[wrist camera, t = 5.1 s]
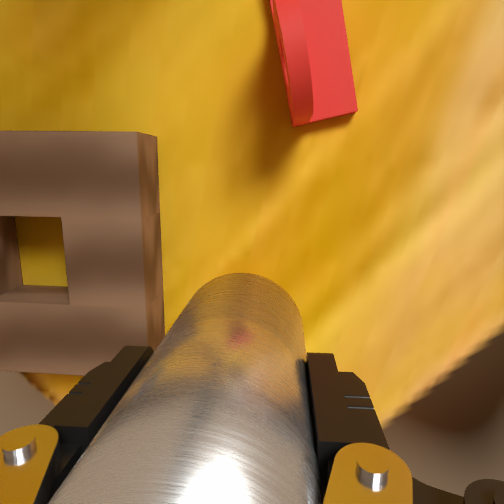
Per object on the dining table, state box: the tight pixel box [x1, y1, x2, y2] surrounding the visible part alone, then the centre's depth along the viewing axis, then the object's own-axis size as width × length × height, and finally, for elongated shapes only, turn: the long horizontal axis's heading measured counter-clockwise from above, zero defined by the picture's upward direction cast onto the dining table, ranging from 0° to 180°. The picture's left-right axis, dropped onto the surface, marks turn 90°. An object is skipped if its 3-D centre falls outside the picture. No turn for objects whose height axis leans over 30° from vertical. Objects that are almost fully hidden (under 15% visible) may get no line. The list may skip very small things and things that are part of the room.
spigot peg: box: [48, 273, 324, 504], centre depth 9 cm, size 4×4×10 cm
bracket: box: [269, 0, 358, 127], centre depth 22 cm, size 12×4×8 cm, turn 12°
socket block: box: [0, 131, 165, 376], centre depth 29 cm, size 18×18×4 cm
